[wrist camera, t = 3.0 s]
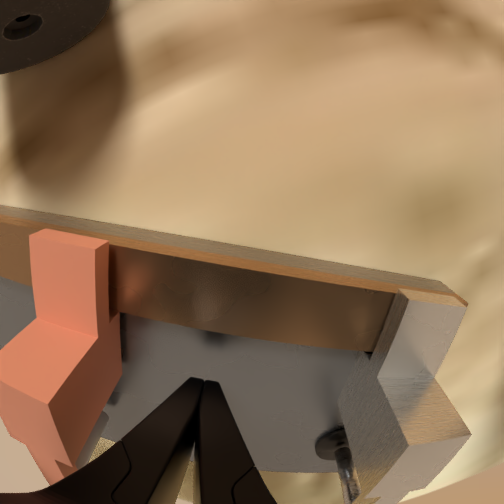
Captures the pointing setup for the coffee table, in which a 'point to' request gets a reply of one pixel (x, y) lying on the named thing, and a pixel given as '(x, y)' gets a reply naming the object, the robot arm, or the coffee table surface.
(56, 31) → the laser sight
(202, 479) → the robot arm
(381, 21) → the coffee table surface
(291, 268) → the plate
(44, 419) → the block
